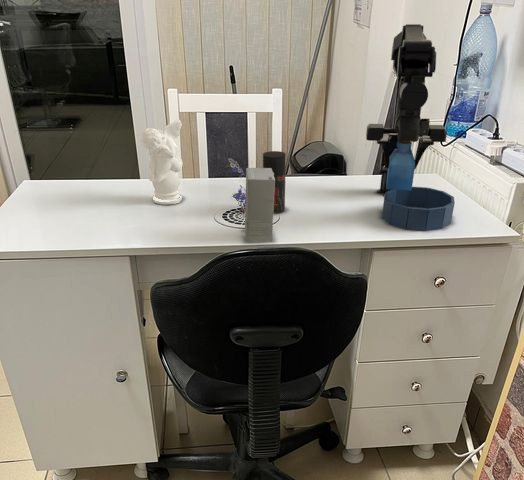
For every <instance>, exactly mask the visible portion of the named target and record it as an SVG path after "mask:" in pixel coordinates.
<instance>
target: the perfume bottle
mask: <svg viewBox="0 0 524 480" xmlns="http://www.w3.org/2000/svg"><path fill="white" fill-rule="evenodd" d="M412 143H413V142H412V141H404V142H400V141H398V142H397V147H398V149H395V150H394V151H393V153H392V154H391V156H390V157H389V168H388V173H387V189H391V190H412V187H413V183H414V177H415V170H416V169H415V161H414V160H415V155H414V153H413V150H412V149H410V147H411V148H412V145H413V144H412Z"/></svg>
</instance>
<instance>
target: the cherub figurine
mask: <svg viewBox="0 0 524 480" xmlns="http://www.w3.org/2000/svg"><path fill="white" fill-rule="evenodd" d="M182 126H183V123H182V121H181V119H180V118H179V117H178V116H177V117H176V119H175V120H174V121H173V122H170V123H168V124H167V125H165V126H164V128H163V130H162V129H157V128H153V127H147V128H146V129H144V130H143V131H142V135H141V143H142V145H143V147H144V148H145V149H146V150H147V151H148V155H149V156H150V160H149V164H148V168H149V180H148V181H150V182H151V183H152V186H153V189H154V191H153V193H154V195H155V197H156V198H158V199H161V200H174V199H177V198H179V197H180V198H179V199H177V200H174V201H170V202H159V201H155V200H153V198H151V199H152V201H153V203H155V204H157V205H161V206H162V205H165V206H168V205H175V204H179V203H181V202H182V200H183V196H182V195H181V194H180V190H179V186H180V181H181V180H180V175H179V172H180V171H181V170H182V168H183V164H184V163H183V159H182V156H181V154H180V149H179V147H178V145H177V144H176V143H175V142H176V141H177V140H178V139H179V136H180V133H181V129H182ZM179 194H180V195H181V196H180V195H179Z"/></svg>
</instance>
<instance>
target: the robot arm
mask: <svg viewBox="0 0 524 480" xmlns="http://www.w3.org/2000/svg"><path fill="white" fill-rule="evenodd" d="M390 61H392V69H393V72H394V74H395V77H396V87H395V97H394V107H393V116H392V126H391V127H385V125H384V123H368V124H367V126H366V133H365V138H366V139H365V141H368V142H369V141H370V142H372V141H373V142H374V141H375V142H376V144H377V145H380V146H381V148H382V151H381V155H380V160H379V174H381V178H380V185H379V189H377V190H376V193H377V194H382V195H384V196H385V193H386V192H387V191H390V190H391V189H387V173H388V168H389V157H390V156H391V154H392V153H393V151H394V150H395V149H398V147H397V142H398V141H400V142H404V141H410V142H412V143H416V142H418V143H417V147H416V152H415V155H414V161H415V170H416V169H417V167H418V165H419V163H420V161H421V158H422V157H423V155H424V153H425V152H426V150H427V149H428V148H429V147H430V146H434V145H435V143H446V141H447V137H448V136H447V135H448V131H447V130H446V127H445V126H444V125H443V124H430V123H431V121H430V118H421V114H422V113H421V112H422V107H424V105H426V103H427V101H428V99H429V90H428V88H427V85H426V78H433V75H434V74H435V73H436V68H437V51H436V47H435V46H433V41H432V40H430V39H427V36H426V35H425V33H424V25H421V23H420V24H419V23H418V24H417V23H410V24H409V23H406V24H405V25H402V29H401V31H400V32H399V33H398V34H397V35H396V36H394V37H393V41H392V47H391V56H390ZM411 148H412V146H411V147H410V149H411ZM411 150H412V149H411Z"/></svg>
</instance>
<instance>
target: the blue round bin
mask: <svg viewBox="0 0 524 480" xmlns="http://www.w3.org/2000/svg"><path fill="white" fill-rule="evenodd" d="M455 202H456V201H455V197H454V196H453V195H451V194H449V193H448V192H447V191H445V190H440V189H436V188H432V187H426V186H412V190H390V191H387V192H386V193H385V195H384V197H383V206H382V214H381V219H382V220H383V221H384V222H386V223H387V224H388V225H390V226H393V227H396V228H400V229H403V230H409V231H410V230H411V231H420V232H421V231H422V232H427V231H435V230H441V229H445V227H447V226H449V225H451V224H452V218H453V214H454V208H455Z"/></svg>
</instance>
